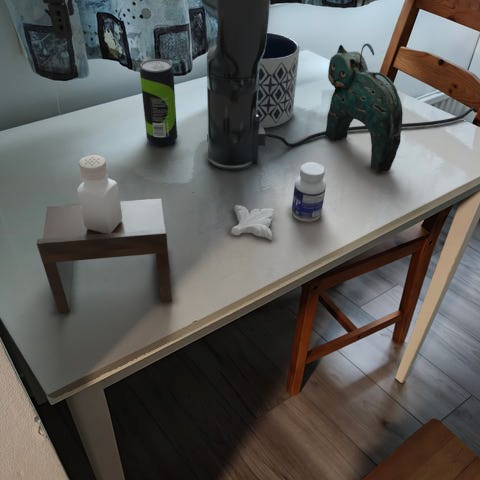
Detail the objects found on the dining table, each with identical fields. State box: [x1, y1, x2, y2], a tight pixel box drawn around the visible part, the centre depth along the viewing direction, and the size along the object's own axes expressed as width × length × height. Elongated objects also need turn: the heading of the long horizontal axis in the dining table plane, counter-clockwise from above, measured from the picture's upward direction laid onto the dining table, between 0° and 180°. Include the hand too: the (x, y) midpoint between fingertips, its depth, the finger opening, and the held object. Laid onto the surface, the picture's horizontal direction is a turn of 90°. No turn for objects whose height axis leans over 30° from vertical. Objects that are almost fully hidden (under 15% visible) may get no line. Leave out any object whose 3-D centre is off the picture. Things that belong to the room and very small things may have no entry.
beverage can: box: [139, 58, 178, 147], centre depth 102 cm, size 6×6×15 cm
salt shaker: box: [76, 154, 122, 234], centre depth 67 cm, size 4×4×10 cm
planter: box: [257, 31, 300, 129], centre depth 112 cm, size 16×16×14 cm
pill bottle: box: [291, 161, 327, 223], centre depth 88 cm, size 5×5×9 cm
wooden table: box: [36, 198, 173, 313], centre depth 74 cm, size 16×11×12 cm
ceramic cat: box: [325, 43, 404, 174], centre depth 100 cm, size 20×6×20 cm, turn 29°
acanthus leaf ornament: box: [231, 204, 275, 241], centre depth 88 cm, size 8×7×2 cm
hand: (65, 25), depth 68 cm, fingers open, 8 cm apart
